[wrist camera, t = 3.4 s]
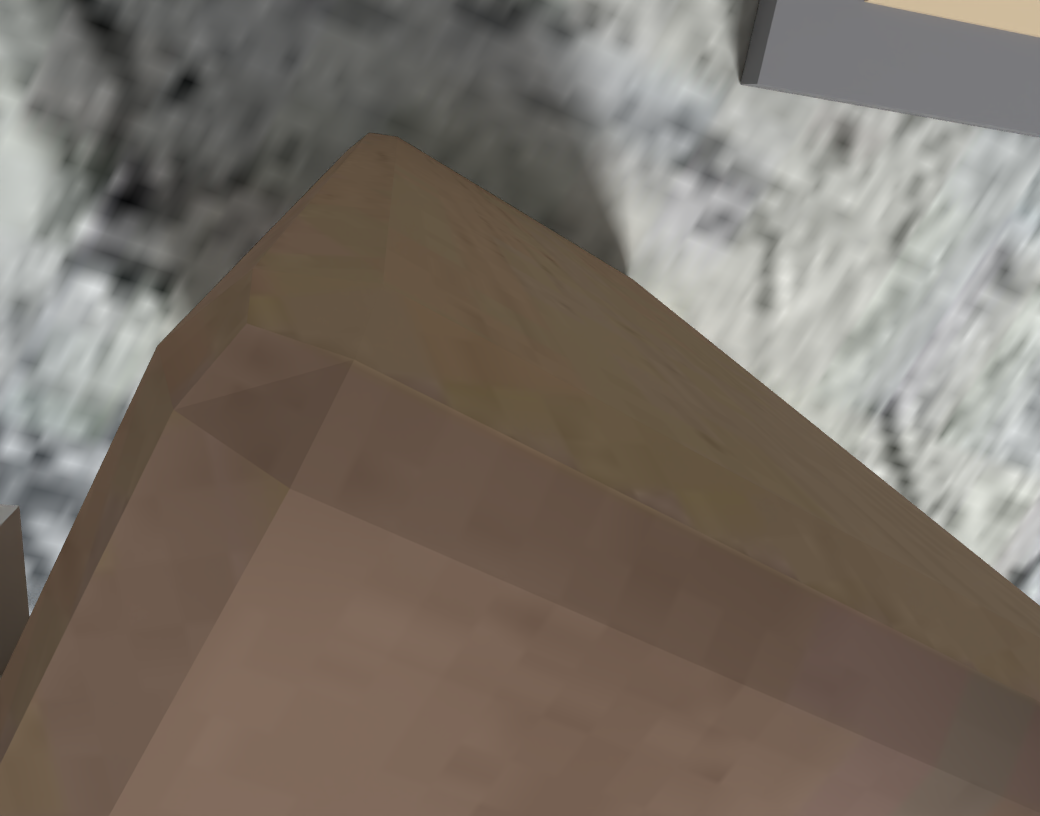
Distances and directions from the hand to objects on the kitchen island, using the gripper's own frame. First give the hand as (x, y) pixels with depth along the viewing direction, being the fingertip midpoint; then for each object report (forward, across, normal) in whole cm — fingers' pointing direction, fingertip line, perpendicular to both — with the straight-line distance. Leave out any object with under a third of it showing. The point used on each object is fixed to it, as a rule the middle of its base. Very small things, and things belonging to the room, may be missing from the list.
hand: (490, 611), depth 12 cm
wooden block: (+14, 0, 0) cm, 14 cm away
